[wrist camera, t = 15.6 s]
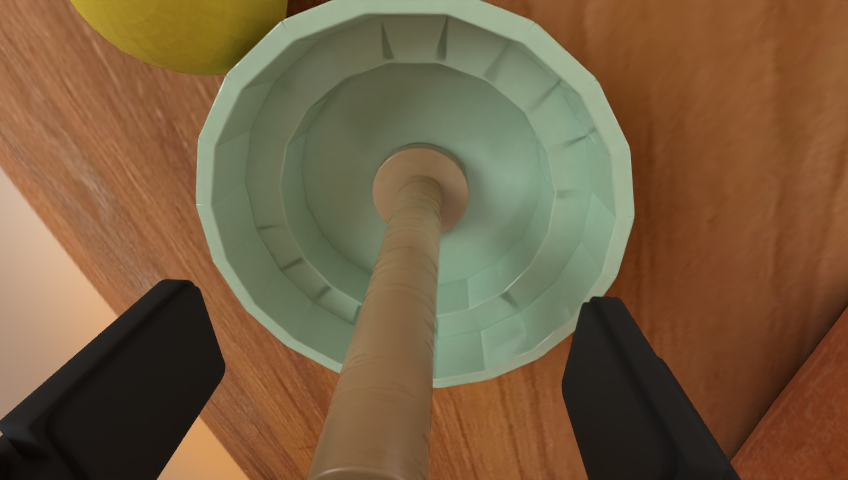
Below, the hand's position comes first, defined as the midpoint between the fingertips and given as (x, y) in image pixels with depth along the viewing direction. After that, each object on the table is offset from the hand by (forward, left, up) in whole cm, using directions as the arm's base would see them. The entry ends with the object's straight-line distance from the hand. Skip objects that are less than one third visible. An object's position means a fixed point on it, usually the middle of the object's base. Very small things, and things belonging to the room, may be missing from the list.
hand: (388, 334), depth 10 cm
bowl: (0, 0, -11) cm, 11 cm away
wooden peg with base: (0, 0, -10) cm, 10 cm away
